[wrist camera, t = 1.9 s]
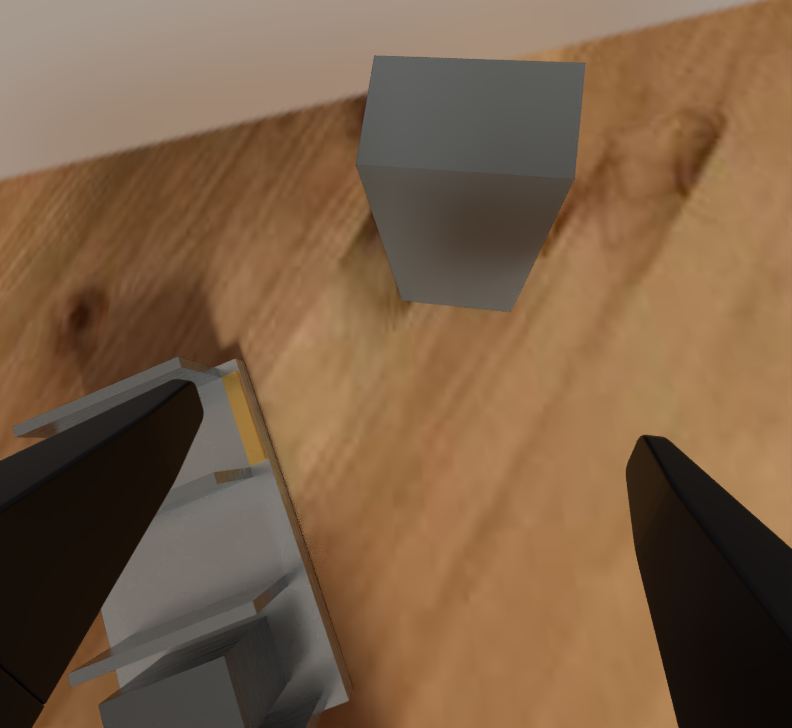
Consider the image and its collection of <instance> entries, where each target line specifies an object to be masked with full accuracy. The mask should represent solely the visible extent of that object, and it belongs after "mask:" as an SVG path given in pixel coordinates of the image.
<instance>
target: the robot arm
mask: <svg viewBox="0 0 792 728" xmlns="http://www.w3.org/2000/svg"><path fill="white" fill-rule="evenodd" d="M203 417H204V410H203V406H202V403H201V400H200V396H199V393H198V390H197V387H196V384H195V383H194V382H193V381H190V380H182V379H172V380H170V381H168V382H166V383H164V384H162V385H159V386H157V387H155V388H153V389H151V390H149V391H147V392H145V393H143V394H140V395H138V396H136V397H134V398H132V399H130V400H128V401H126V402H124V403H121V404H119V405H117V406H115V407H113V408H111V409H109V410H107V411H105V412H102V413H100V414H98V415H96V416H94V417H92V418H90V419H88V420H85V421H83V422H81V423H79V424H77V425H75V426H73V427H71V428H69V429H66V430H64V431H62V432H60V433H58V434H56V435H54V436H52V437H50V438H47V439H45V440H43V441H41V442H39V443H37V444H35V445H33V446H30V447H28V448H26V449H24V450H22V451H20V452H18V453H16V454H14V455H11V456H9V457H7V458H5V459H3V460H1V461H0V728H32V727H33V725H34V723H35V722H36V720H37V718H38V716H39V715H40V713H41V711H42V710H43V708H44V705H43V704H45V703H46V702H47V700H48V699H49V697H50V695H51V694H52V692H53V690H54V688H55V687H56V685H57V683H58V682H59V680H60V678H61V676H62V675H63V673H64V671H65V670H66V668H67V666H68V664H69V663H70V661H71V659H72V658H73V656H74V654H75V652H76V651H77V649H78V647H79V646H80V644H81V642H82V640H83V639H84V637H85V635H86V634H87V632H88V630H89V628H90V627H91V625H92V623H93V622H94V620H95V618H96V616H97V615H98V613H99V611H100V610H101V608H102V606H103V604H104V603H105V601H106V599H107V598H108V596H109V594H110V592H111V591H112V589H113V587H114V586H115V584H116V582H117V580H118V579H119V577H120V575H121V574H122V572H123V570H124V568H125V567H126V565H127V563H128V562H129V560H130V558H131V556H132V555H133V553H134V551H135V550H136V548H137V546H138V544H139V543H140V541H141V539H142V538H143V536H144V534H145V532H146V531H147V529H148V527H149V526H150V524H151V522H152V520H153V519H154V517H155V515H156V514H157V512H158V510H159V508H160V507H161V505H162V503H163V502H164V500H165V498H166V496H167V495H168V493H169V491H170V489H171V488H172V486H173V484H174V482H175V480H176V478H177V476H178V474H179V472H180V470H181V468H182V465H183V463H184V461H185V459H186V457H187V454H188V452H189V450H190V448H191V445H192V443H193V441H194V439H195V436H196V434H197V432H198V430H199V428H200V425H201V423H202V421H203ZM626 482H627V490H628V498H629V507H630V515H631V523H632V531H633V539H634V546H635V552H636V557H637V561H638V565H639V570H640V574H641V578H642V582H643V586H644V590H645V594H646V598H647V602H648V606H649V610H650V614H651V618H652V622H653V626H654V630H655V634H656V638H657V642H658V646H659V651H660V655H661V659H662V663H663V667H664V671H665V675H666V679H667V683H668V687H669V691H670V695H671V699H672V703H673V707H674V711H675V715H676V719H677V723H678V727H679V728H792V549H791V548H790V547H789V546H788V545H787V544H786V543H785V542H784V541H782V540H781V539H780V538H779V537H778V536H777V535H776V534H775V533H773V532H772V531H771V530H770V529H769V528H768V527H767V526H765V525H764V524H763V523H762V522H761V521H760V520H759V519H758V518H756V517H755V516H754V515H753V514H752V513H751V512H750V511H749V510H747V509H746V508H745V507H744V506H743V505H742V504H741V503H740V502H738V501H737V500H736V499H735V498H734V497H733V496H732V495H730V494H729V493H728V492H727V491H726V490H725V489H724V488H723V487H721V486H720V485H719V484H718V483H717V482H716V481H715V480H714V479H712V478H711V477H710V476H709V475H708V474H707V473H706V472H704V471H703V470H702V469H701V468H700V467H699V466H698V465H697V464H695V463H694V462H693V461H692V460H691V459H690V458H689V457H688V456H686V455H685V454H684V453H683V452H682V451H681V450H680V449H678V448H677V447H676V446H675V445H674V444H673V443H672V442H671V441H669V440H668V439H667V438H665V437H661V436H653V435H642V436H640V437H639V439H638V440H637V443H636V445H635V447H634V449H633V452H632V454H631V456H630V459H629V461H628V463H627V467H626Z"/></svg>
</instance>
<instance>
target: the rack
mask: <svg viewBox="0 0 792 728" xmlns="http://www.w3.org/2000/svg"><path fill="white" fill-rule="evenodd" d="M172 379H182V380H190V381H193V382H194V383H195V384H196V387H197V390H198V393H199V396H200V400H201V403H202V406H203V410H204V417H203V421H202V423H201V425H200V428H199V430H198V432H197V434H196V436H195V439H194V441H193V443H192V445H191V448H190V450H189V452H188V454H187V457H186V459H185V461H184V463H183V465H182V468H181V470H180V472H179V474H178V476H177V478H176V480H175V482H174V484H173V486H172V488H171V489H170V491H169V493H168V495H167V496H166V498H165V500H164V502H163V503H162V505H161V507H160V508H159V510H158V512H157V514H156V515H155V517H154V519H153V520H152V522H151V524H150V526H149V527H148V529H147V531H146V532H145V534H144V536H143V538H142V539H141V541H140V543H139V544H138V546H137V548H136V550H135V551H134V553H133V555H132V556H131V558H130V560H129V562H128V563H127V565H126V567H125V568H124V570H123V572H122V574H121V575H120V577H119V579H118V580H117V582H116V584H115V586H114V587H113V589H112V591H111V592H110V594H109V596H108V598H107V599H106V601H105V603H104V604H103V606H102V608H101V612H102V616H103V620H104V624H105V628H106V633H107V637H108V641H109V645H110V649H108V650H106V651H105V652H103V653H101V654H100V655H98V656H96V657H95V658H93V659H92V660H90V661H88V662H87V663H85V664H83V665H82V666H80V667H79V668H77V669H75V670H74V671H72V672H70V673H69V674H68V677H69V682H70V686H71V687H73V686H75V685H78V684H80V683H83V682H86V681H88V680H91V679H93V678H96V677H98V676H101V675H103V674H106V673H108V672H111V671H114V670H116V674H117V678H118V682H119V686H120V689H119V690H118V691H116V692H115V693H114V694H112V695H111V696H110V697H108V698H107V699H106V700H104V701H103V702H102V703H100V704H99V709H100V713H101V718H102V722H103V726H104V728H316V727H317V725H318V723H319V720H320V718H321V716H322V714H323V712H324V710H326V709H329V708H332V707H334V706H337V705H339V704H342V703H345V702H347V701H349V699H350V696H351V694H352V691H353V686H352V683H351V680H350V677H349V674H348V671H347V668H346V665H345V662H344V659H343V656H342V653H341V650H340V647H339V644H338V641H337V638H336V635H335V632H334V629H333V626H332V623H331V620H330V617H329V614H328V611H327V608H326V605H325V602H324V599H323V596H322V593H321V590H320V587H319V584H318V581H317V578H316V575H315V572H314V569H313V566H312V563H311V560H310V557H309V554H308V551H307V549H306V546H305V543H304V540H303V537H302V534H301V531H300V528H299V525H298V522H297V519H296V516H295V513H294V510H293V507H292V504H291V501H290V498H289V495H288V492H287V489H286V486H285V483H284V480H283V477H282V474H281V471H280V468H279V465H278V462H277V459H276V456H275V453H274V450H273V447H272V444H271V441H270V438H269V435H268V432H267V429H266V426H265V423H264V420H263V417H262V414H261V411H260V408H259V405H258V402H257V399H256V396H255V393H254V390H253V387H252V384H251V381H250V378H249V375H248V372H247V369H246V366H245V363H244V362H243V361H241V360H238V359H233V360H231V361H228V362H226V363H223V364H221V365H219V366H216V367H211V366H207V365H204V364H201V363H198V362H194V361H191V360H188V359H185V358H181V357H176V358H173V359H171V360H169V361H166V362H164V363H162V364H159V365H157V366H155V367H152V368H150V369H147V370H145V371H143V372H140V373H138V374H136V375H133V376H131V377H129V378H126V379H124V380H122V381H119V382H117V383H114V384H112V385H110V386H107V387H105V388H103V389H100V390H98V391H96V392H93V393H91V394H89V395H86V396H84V397H81V398H79V399H77V400H74V401H72V402H70V403H67V404H65V405H63V406H60V407H58V408H56V409H53V410H51V411H49V412H46V413H44V414H41V415H39V416H37V417H34V418H32V419H30V420H27V421H25V422H23V423H20V424H18V425H16V426H13V429H14V434H15V437H37V438H50V437H52V436H54V435H56V434H58V433H60V432H62V431H64V430H66V429H69V428H71V427H73V426H75V425H77V424H79V423H81V422H83V421H85V420H88V419H90V418H92V417H94V416H96V415H98V414H100V413H102V412H105V411H107V410H109V409H111V408H113V407H115V406H117V405H119V404H121V403H124V402H126V401H128V400H130V399H132V398H134V397H136V396H138V395H140V394H143V393H145V392H147V391H149V390H151V389H153V388H155V387H157V386H159V385H162V384H164V383H166V382H168V381H170V380H172Z"/></svg>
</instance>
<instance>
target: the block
mask: <svg viewBox="0 0 792 728" xmlns="http://www.w3.org/2000/svg"><path fill="white" fill-rule="evenodd" d="M584 73H585V63H573V62H544V61H515V60H486V59H456V58H427V57H399V56H398V57H397V56H374V61H373V66H372V72H371V78H370V84H369V90H368V96H367V102H366V107H365V113H364V119H363V125H362V131H361V137H360V143H359V149H358V154H357V160H356V166H357V169H358V172H359V175H360V178H361V181H362V184H363V187H364V189H365V192H366V195H367V198H368V201H369V204H370V207H371V210H372V213H373V216H374V219H375V222H376V225H377V228H378V231H379V233H380V236H381V239H382V242H383V245H384V248H385V251H386V254H387V257H388V260H389V263H390V266H391V269H392V272H393V275H394V277H395V280H396V283H397V286H398V289H399V292H400V295H401V298H402V301H411V302H421V303H430V304H439V305H449V306H458V307H467V308H477V309H486V310H495V311H505V312H511V311H512V309H513V307H514V305H515V303H516V300H517V298H518V296H519V294H520V292H521V290H522V288H523V286H524V284H525V282H526V279H527V277H528V275H529V273H530V271H531V269H532V267H533V265H534V263H535V261H536V258H537V256H538V254H539V252H540V250H541V248H542V246H543V244H544V242H545V240H546V238H547V235H548V233H549V231H550V229H551V227H552V225H553V223H554V221H555V219H556V217H557V214H558V212H559V210H560V208H561V206H562V204H563V202H564V200H565V198H566V196H567V193H568V191H569V189H570V187H571V185H572V183H573V181H574V179H575V168H576V158H577V147H578V137H579V126H580V116H581V105H582V94H583V84H584Z"/></svg>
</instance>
